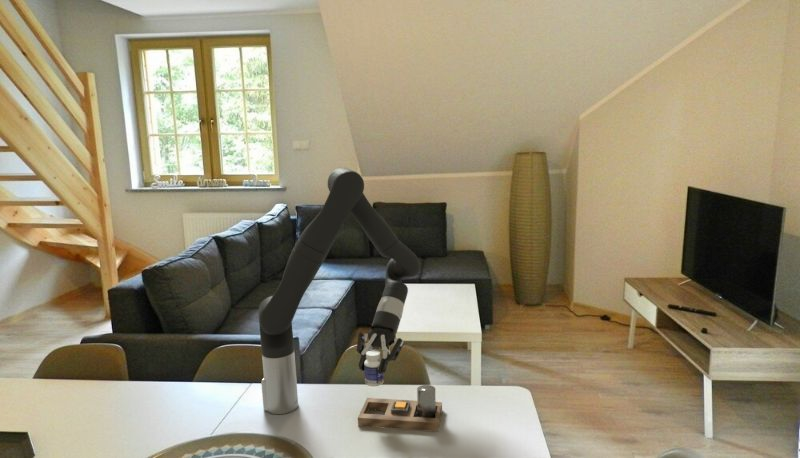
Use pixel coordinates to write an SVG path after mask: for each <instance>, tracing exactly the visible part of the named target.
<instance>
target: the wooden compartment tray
mask: <svg viewBox="0 0 800 458" xmlns="http://www.w3.org/2000/svg"><path fill="white" fill-rule="evenodd" d="M396 402H406V409H395V405H396ZM369 411H381V412H384V414H375V413H369ZM442 413H443V402H442V401H436V416H435V418H424V417H418V416H417V415H418V405H417V400H412V399H411V400H410V399H409V400H408V399H393V398H375V397H366V400H365V401H364V403H363V406H362V408H361V410H360V411H359V414H358V417H357V426H358V427H366V428H367V427H368V428H382V429H393V430H395V429H398V430H410V431H411V430H412V431H413V430H414V431H425V432H439V430H440V423H441V417H442Z"/></svg>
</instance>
